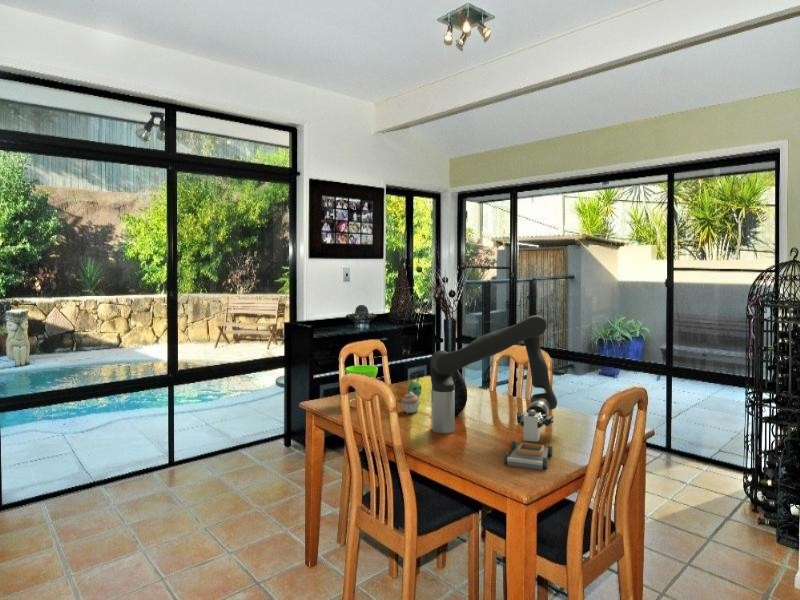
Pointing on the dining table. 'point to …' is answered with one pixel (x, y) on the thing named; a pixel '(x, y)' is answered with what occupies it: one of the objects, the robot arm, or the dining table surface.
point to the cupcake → (410, 403)
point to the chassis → (528, 455)
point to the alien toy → (414, 388)
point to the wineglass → (363, 370)
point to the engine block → (531, 426)
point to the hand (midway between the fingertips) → (530, 424)
